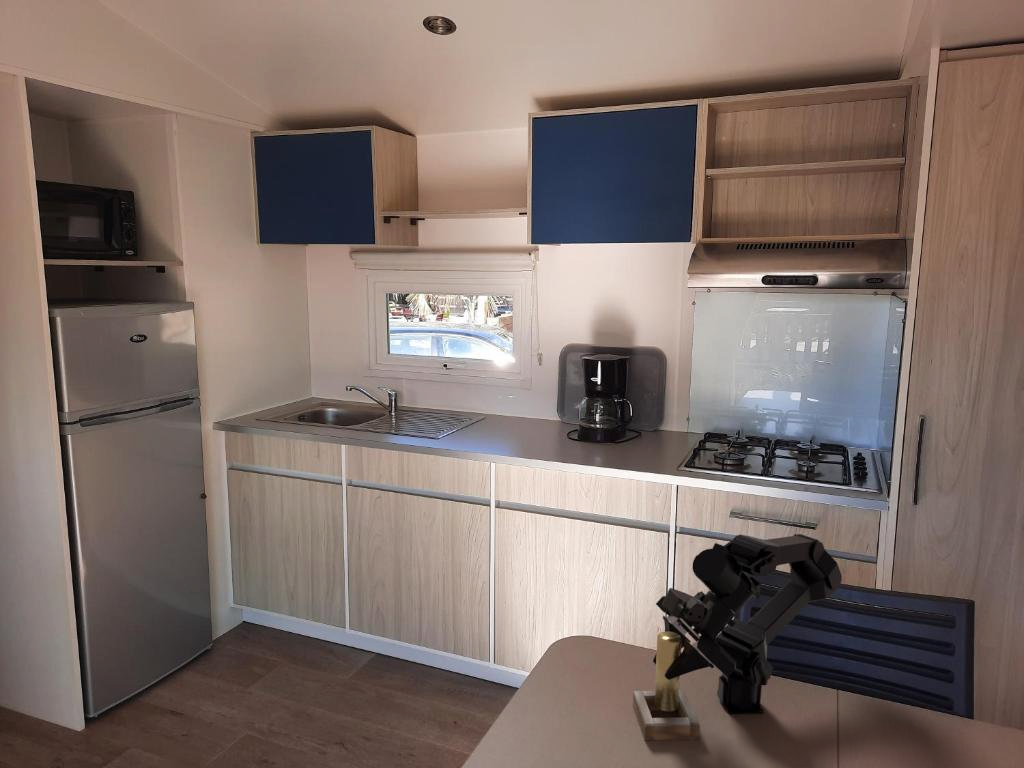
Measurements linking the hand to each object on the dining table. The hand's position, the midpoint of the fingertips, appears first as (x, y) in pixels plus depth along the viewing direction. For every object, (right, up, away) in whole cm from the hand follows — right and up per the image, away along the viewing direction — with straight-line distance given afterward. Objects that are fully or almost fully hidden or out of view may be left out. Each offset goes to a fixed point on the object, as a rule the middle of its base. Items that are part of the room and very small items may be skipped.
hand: (660, 670), depth 123 cm
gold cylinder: (+1, -6, +2) cm, 7 cm away
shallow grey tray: (+1, -10, +2) cm, 10 cm away
